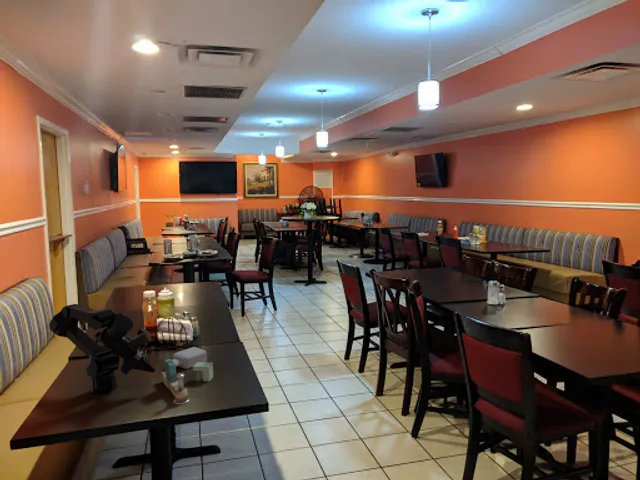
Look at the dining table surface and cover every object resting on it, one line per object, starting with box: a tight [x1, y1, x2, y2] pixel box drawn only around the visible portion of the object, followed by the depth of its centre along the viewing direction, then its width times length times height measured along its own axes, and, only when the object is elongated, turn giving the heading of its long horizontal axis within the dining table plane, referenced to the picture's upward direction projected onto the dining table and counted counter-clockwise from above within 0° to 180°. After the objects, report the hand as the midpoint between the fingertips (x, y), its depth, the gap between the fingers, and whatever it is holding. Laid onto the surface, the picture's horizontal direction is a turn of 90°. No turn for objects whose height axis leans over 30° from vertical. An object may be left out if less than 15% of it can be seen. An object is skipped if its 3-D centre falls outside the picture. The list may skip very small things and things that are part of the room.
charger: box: [171, 346, 208, 370], centre depth 181 cm, size 5×9×15 cm
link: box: [160, 358, 189, 402], centre depth 158 cm, size 21×4×9 cm, turn 34°
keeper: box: [192, 361, 214, 382], centre depth 168 cm, size 6×4×5 cm
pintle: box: [172, 372, 191, 405], centre depth 151 cm, size 5×5×9 cm
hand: (154, 371), depth 159 cm, fingers closed
